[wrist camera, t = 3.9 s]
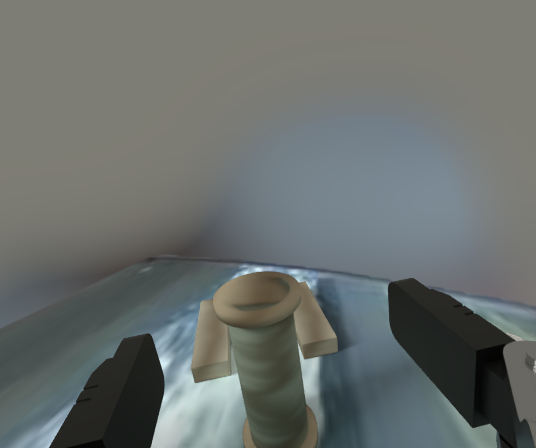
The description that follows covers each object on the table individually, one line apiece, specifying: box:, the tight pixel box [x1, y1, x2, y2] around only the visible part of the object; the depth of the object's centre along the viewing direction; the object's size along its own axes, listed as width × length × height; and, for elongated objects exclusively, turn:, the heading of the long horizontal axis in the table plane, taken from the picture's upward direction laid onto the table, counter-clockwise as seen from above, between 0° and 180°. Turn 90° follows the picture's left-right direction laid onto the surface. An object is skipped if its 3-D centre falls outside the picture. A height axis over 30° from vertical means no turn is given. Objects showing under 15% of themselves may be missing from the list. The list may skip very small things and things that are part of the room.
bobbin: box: [213, 271, 318, 448], centre depth 24 cm, size 6×6×14 cm
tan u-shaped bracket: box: [191, 282, 338, 383], centre depth 40 cm, size 16×14×2 cm
